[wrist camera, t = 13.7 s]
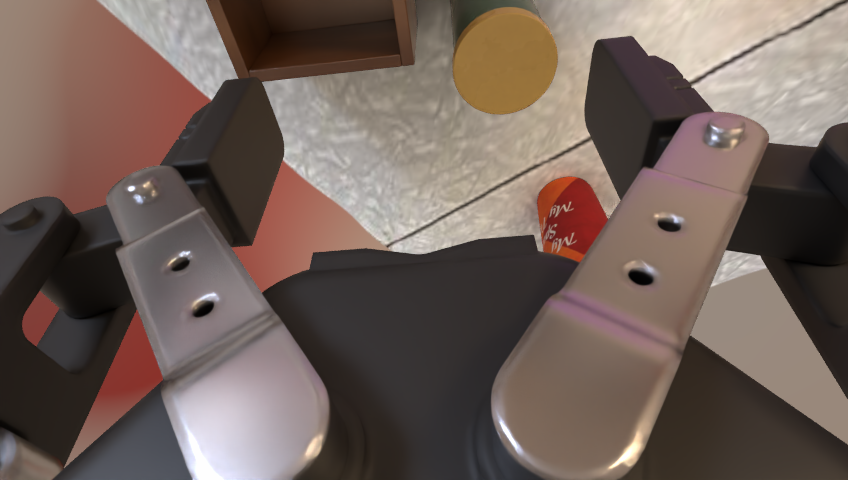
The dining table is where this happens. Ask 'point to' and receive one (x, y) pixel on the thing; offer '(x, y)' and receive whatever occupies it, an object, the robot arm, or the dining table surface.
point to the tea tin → (501, 54)
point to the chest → (315, 36)
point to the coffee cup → (569, 217)
